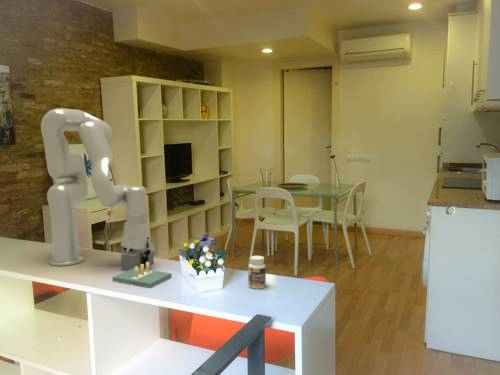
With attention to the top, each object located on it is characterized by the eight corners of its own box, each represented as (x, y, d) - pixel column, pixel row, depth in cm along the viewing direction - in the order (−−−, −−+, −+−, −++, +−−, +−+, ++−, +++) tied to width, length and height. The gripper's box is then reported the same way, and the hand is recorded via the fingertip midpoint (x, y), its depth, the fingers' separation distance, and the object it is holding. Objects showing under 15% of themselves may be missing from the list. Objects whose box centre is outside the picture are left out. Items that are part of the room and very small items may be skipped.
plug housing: (133, 272, 163) (133, 256, 162) (121, 269, 165) (120, 254, 164) (153, 263, 173) (153, 248, 173) (142, 261, 176) (141, 246, 175)
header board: (112, 281, 153) (112, 266, 152) (135, 271, 163) (135, 257, 163) (150, 288, 146) (149, 272, 145) (171, 277, 157) (171, 262, 156)
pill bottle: (252, 290, 144) (253, 260, 143) (245, 284, 149) (245, 256, 148) (268, 287, 147) (268, 258, 146) (260, 282, 152) (260, 254, 151)
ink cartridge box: (202, 277, 157) (202, 237, 155) (189, 275, 159) (188, 235, 158) (216, 269, 166) (216, 231, 164) (203, 267, 168) (203, 230, 167)
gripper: (112, 218, 167) (113, 264, 169) (148, 222, 160) (150, 270, 162) (125, 215, 174) (126, 259, 176) (161, 219, 167) (162, 265, 169)
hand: (138, 264), depth 169 cm, fingers open, 6 cm apart
